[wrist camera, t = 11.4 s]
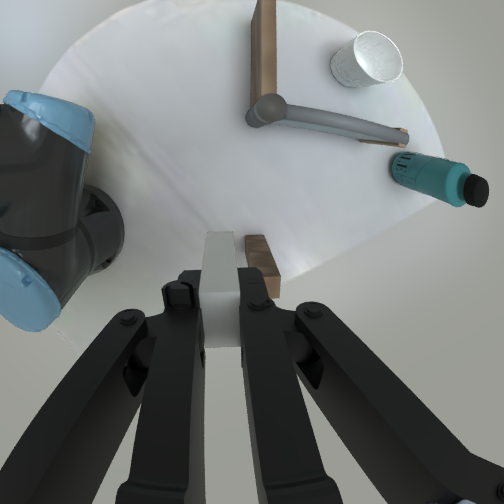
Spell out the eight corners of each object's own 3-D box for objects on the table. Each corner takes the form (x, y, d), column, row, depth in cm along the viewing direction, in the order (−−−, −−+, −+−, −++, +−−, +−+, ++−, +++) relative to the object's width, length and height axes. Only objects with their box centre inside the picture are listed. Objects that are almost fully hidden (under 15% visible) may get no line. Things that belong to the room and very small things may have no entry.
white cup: (374, 89, 36) (409, 82, 27) (333, 92, 36) (362, 83, 27) (362, 48, 33) (394, 32, 23) (320, 49, 33) (346, 29, 23)
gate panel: (268, 126, 36) (286, 121, 26) (270, 111, 36) (288, 100, 25) (366, 143, 38) (407, 148, 28) (367, 129, 38) (409, 130, 27)
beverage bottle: (410, 188, 43) (489, 222, 25) (382, 181, 42) (464, 214, 24) (415, 154, 41) (499, 175, 22) (388, 145, 40) (474, 161, 22)
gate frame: (245, 252, 45) (254, 299, 32) (246, 22, 30) (257, -22, 17) (263, 251, 45) (279, 298, 33) (266, 23, 30) (284, -20, 17)
